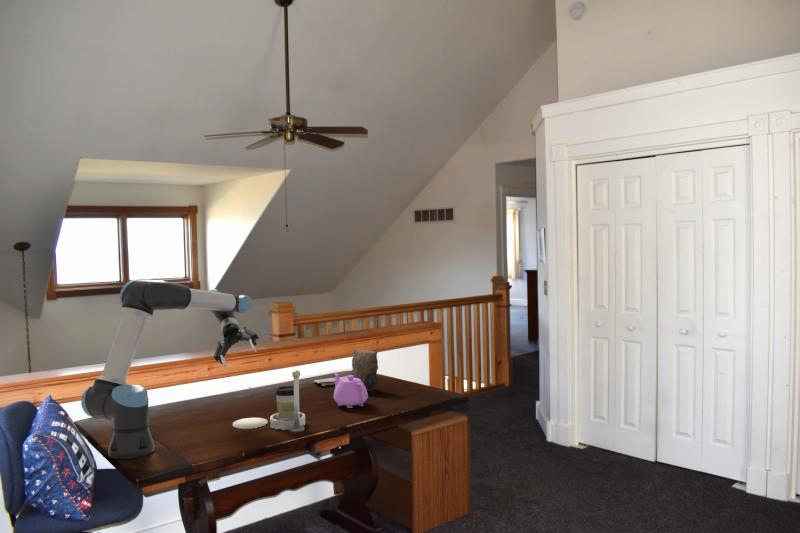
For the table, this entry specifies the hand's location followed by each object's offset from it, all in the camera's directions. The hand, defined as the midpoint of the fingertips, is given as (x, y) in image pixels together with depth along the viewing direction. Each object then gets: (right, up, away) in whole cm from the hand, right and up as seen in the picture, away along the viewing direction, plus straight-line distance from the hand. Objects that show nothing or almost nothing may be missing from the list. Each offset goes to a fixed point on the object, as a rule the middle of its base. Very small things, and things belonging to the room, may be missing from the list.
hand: (240, 358), depth 257 cm
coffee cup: (+21, -27, -4) cm, 34 cm away
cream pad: (+5, -27, -3) cm, 27 cm away
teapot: (+44, -25, +25) cm, 57 cm away
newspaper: (+37, -24, +74) cm, 86 cm away
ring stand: (+21, -27, -7) cm, 35 cm away
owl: (+48, -24, +53) cm, 75 cm away
